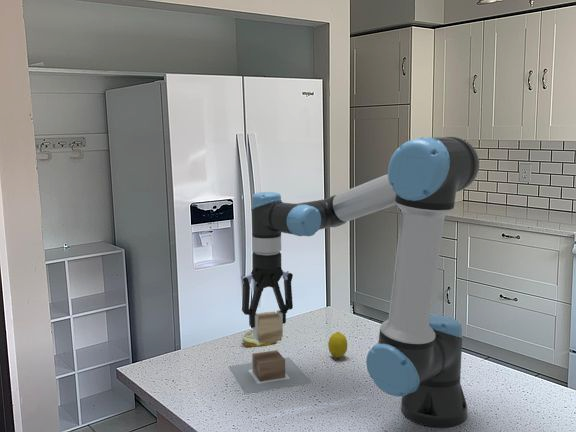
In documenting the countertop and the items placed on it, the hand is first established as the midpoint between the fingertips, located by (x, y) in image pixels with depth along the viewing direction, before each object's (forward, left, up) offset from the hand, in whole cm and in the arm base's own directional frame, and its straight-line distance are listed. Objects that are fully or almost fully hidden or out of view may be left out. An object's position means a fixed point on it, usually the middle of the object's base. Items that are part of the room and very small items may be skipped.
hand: (267, 336), depth 153 cm
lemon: (+6, -23, -12) cm, 27 cm away
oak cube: (0, 0, 0) cm, 0 cm away
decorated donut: (+25, -5, -12) cm, 28 cm away
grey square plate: (0, 0, -12) cm, 12 cm away
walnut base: (0, 0, -10) cm, 10 cm away
